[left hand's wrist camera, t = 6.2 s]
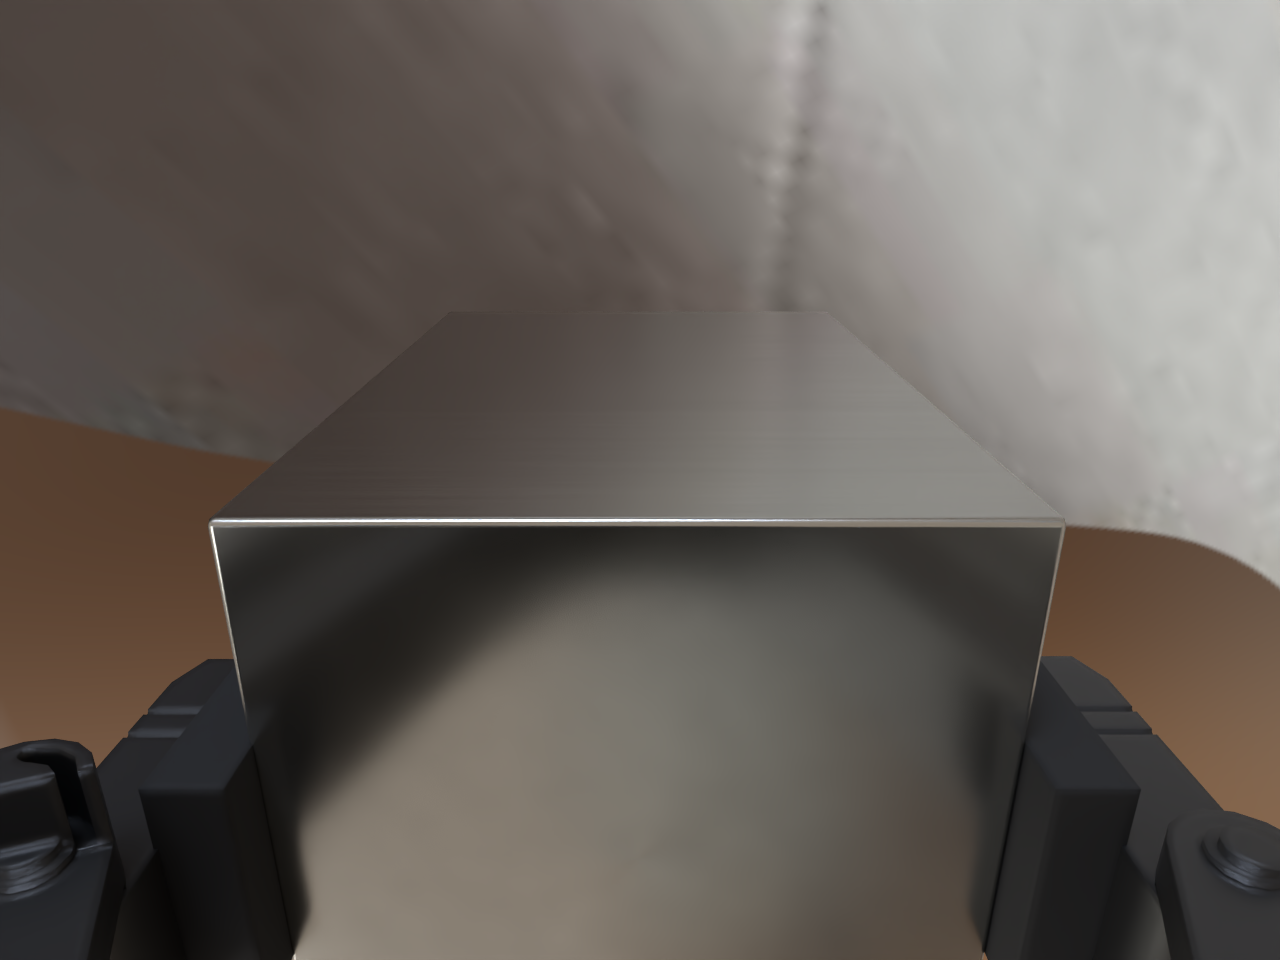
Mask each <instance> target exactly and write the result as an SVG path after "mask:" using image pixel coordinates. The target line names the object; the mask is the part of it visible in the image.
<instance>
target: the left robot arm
mask: <svg viewBox="0 0 1280 960" xmlns="http://www.w3.org/2000/svg"><path fill="white" fill-rule="evenodd" d="M984 952H985V954H986V956H987V959H988V960H1280V829H1278V828H1276V827H1274V826H1272V825H1270V824H1268V823H1266V822H1263V821H1260V820H1257V819H1254V818H1251V817H1248V816H1245V815H1242V814H1239V813H1236V812H1230V811H1224V810H1223V809H1222V808H1221V807H1220V806H1219V804H1218V803H1217V802H1216V801H1215V800H1214V799H1213V798H1212V797H1211V795H1210V794H1209V793H1208V792H1207V791H1206V790H1205V789H1204V787H1203V786H1202V785H1201V784H1200V783H1199V782H1198V781H1197V779H1196V778H1195V777H1194V776H1193V775H1192V774H1191V773H1190V772H1189V770H1188V769H1187V768H1186V767H1185V766H1184V765H1183V764H1182V762H1181V761H1180V760H1179V759H1178V758H1177V757H1176V756H1175V755H1174V753H1173V752H1172V751H1171V750H1170V749H1169V748H1168V747H1167V746H1166V744H1165V743H1164V742H1163V741H1162V740H1161V739H1160V738H1159V736H1158V735H1153V734H1152V729H1151V727H1150V726H1149V725H1148V724H1147V723H1146V722H1145V721H1144V719H1143V718H1142V717H1141V716H1140V715H1139V714H1138V713H1137V712H1133V711H1132V706H1131V705H1130V704H1129V702H1128V701H1127V700H1126V699H1125V698H1124V697H1123V696H1122V694H1121V693H1120V692H1119V691H1118V690H1117V689H1116V688H1115V687H1114V685H1113V684H1112V683H1111V682H1110V681H1109V680H1108V679H1107V678H1105V677H1104V676H1102V675H1100V674H1099V673H1097V672H1096V671H1094V670H1093V669H1091V668H1089V667H1088V666H1086V665H1085V664H1083V663H1082V662H1080V661H1078V660H1077V659H1075V658H1074V657H1072V656H1041V659H1040V664H1039V670H1038V675H1037V680H1036V685H1035V690H1034V696H1033V701H1032V706H1031V711H1030V716H1029V722H1028V727H1027V732H1026V737H1025V742H1024V748H1023V753H1022V758H1021V763H1020V768H1019V774H1018V779H1017V784H1016V789H1015V795H1014V800H1013V805H1012V810H1011V815H1010V821H1009V826H1008V831H1007V836H1006V841H1005V847H1004V852H1003V857H1002V862H1001V867H1000V873H999V878H998V883H997V888H996V893H995V899H994V904H993V909H992V914H991V919H990V925H989V930H988V935H987V940H986V945H985V951H984ZM292 957H293V952H292V947H291V942H290V937H289V932H288V927H287V921H286V916H285V911H284V906H283V901H282V896H281V890H280V885H279V880H278V875H277V870H276V865H275V860H274V854H273V849H272V844H271V839H270V834H269V829H268V823H267V818H266V813H265V808H264V803H263V798H262V793H261V787H260V782H259V777H258V772H257V767H256V762H255V756H254V751H253V746H252V745H251V744H250V740H249V734H248V729H247V724H246V719H245V714H244V709H243V704H242V699H241V693H240V688H239V683H238V678H237V673H236V668H235V663H234V659H208V660H206V661H204V662H203V663H201V664H200V665H198V666H197V667H195V668H194V669H192V670H190V671H189V672H187V673H186V674H184V675H183V676H181V677H179V678H178V679H176V680H175V681H173V682H172V683H171V684H170V685H169V686H168V687H167V688H166V690H165V691H164V692H163V693H162V694H161V695H160V696H159V698H158V699H157V700H156V701H155V702H154V703H153V704H152V705H151V707H150V708H149V709H148V714H147V715H143V716H142V717H141V718H140V719H139V720H138V721H137V723H136V724H135V725H134V726H133V727H132V728H131V729H130V731H129V732H128V737H127V738H123V739H122V740H121V741H120V742H119V743H118V744H117V745H116V747H115V748H114V749H113V750H112V751H111V752H110V753H109V755H108V756H107V757H106V758H105V759H104V760H103V761H102V763H101V764H100V765H99V766H98V767H97V768H96V766H95V762H94V759H93V755H92V752H90V751H89V750H88V749H86V748H85V747H84V746H82V745H81V744H80V743H78V742H72V741H66V740H60V739H48V740H38V741H28V742H22V743H19V744H15V745H12V746H9V747H5V748H2V749H0V960H292Z"/></svg>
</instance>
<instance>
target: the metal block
mask: <svg viewBox="0 0 1280 960" xmlns="http://www.w3.org/2000/svg"><path fill="white" fill-rule="evenodd" d="M208 529H209V534H210V539H211V545H212V550H213V555H214V560H215V565H216V570H217V575H218V581H219V586H220V591H221V596H222V601H223V606H224V611H225V616H226V621H227V627H228V632H229V637H230V642H231V647H232V652H233V657H234V663H235V668H236V673H237V678H238V683H239V688H240V693H241V699H242V704H243V709H244V714H245V719H246V724H247V729H248V734H249V740H250V744H251V745H252V746H253V751H254V756H255V762H256V767H257V772H258V777H259V782H260V787H261V793H262V798H263V803H264V808H265V813H266V818H267V823H268V829H269V834H270V839H271V844H272V849H273V854H274V860H275V865H276V870H277V875H278V880H279V885H280V890H281V896H282V901H283V906H284V911H285V916H286V921H287V927H288V932H289V937H290V942H291V947H292V952H293V957H292V960H983V956H984V951H985V945H986V940H987V935H988V930H989V925H990V919H991V914H992V909H993V904H994V899H995V893H996V888H997V883H998V878H999V873H1000V867H1001V862H1002V857H1003V852H1004V847H1005V841H1006V836H1007V831H1008V826H1009V821H1010V815H1011V810H1012V805H1013V800H1014V795H1015V789H1016V784H1017V779H1018V774H1019V768H1020V763H1021V758H1022V753H1023V748H1024V742H1025V737H1026V732H1027V727H1028V722H1029V716H1030V711H1031V706H1032V701H1033V696H1034V690H1035V685H1036V680H1037V675H1038V670H1039V664H1040V659H1041V654H1042V649H1043V643H1044V638H1045V633H1046V628H1047V622H1048V618H1049V612H1050V607H1051V602H1052V597H1053V591H1054V586H1055V581H1056V576H1057V571H1058V565H1059V560H1060V555H1061V550H1062V545H1063V539H1064V534H1065V529H1066V523H1065V520H1064V518H1063V517H1062V516H1061V515H1059V514H1058V513H1057V512H1056V511H1055V510H1054V509H1053V508H1051V507H1050V506H1049V505H1048V504H1047V503H1046V502H1045V501H1043V500H1042V499H1041V498H1040V497H1039V496H1038V495H1036V494H1035V493H1034V492H1033V491H1032V490H1031V489H1030V488H1028V487H1027V486H1026V485H1025V484H1024V483H1023V482H1022V481H1020V480H1019V479H1018V478H1017V477H1016V476H1015V475H1014V474H1012V473H1011V472H1010V471H1009V470H1008V469H1007V468H1006V467H1004V466H1003V465H1002V464H1001V463H1000V462H999V461H997V460H996V459H995V458H994V457H993V456H992V455H991V454H989V453H988V452H987V451H986V450H985V449H984V448H983V447H981V446H980V445H979V444H978V443H977V442H976V441H975V440H973V439H972V438H971V437H970V436H969V435H968V434H967V433H965V432H964V431H963V430H962V429H961V428H960V427H959V426H957V425H956V424H955V423H954V422H953V421H952V420H950V419H949V418H948V417H947V416H946V415H945V414H944V413H942V412H941V411H940V410H939V409H938V408H937V407H936V406H934V405H933V404H932V403H931V402H930V401H929V400H928V399H926V398H925V397H924V396H923V395H922V394H921V393H920V392H918V391H917V390H916V389H915V388H914V387H913V386H911V385H910V384H909V383H908V382H907V381H906V380H905V379H903V378H902V377H901V376H900V375H899V374H898V373H897V372H895V371H894V370H893V369H892V368H891V367H890V366H889V365H887V364H886V363H885V362H884V361H883V360H882V359H881V358H879V357H878V356H877V355H876V354H875V353H874V352H872V351H871V350H870V349H869V348H868V347H867V346H866V345H864V344H863V343H862V342H861V341H860V340H859V339H858V338H856V337H855V336H854V335H853V334H852V333H851V332H850V331H848V330H847V329H846V328H845V327H844V326H843V325H842V324H840V323H839V322H838V321H837V320H836V319H835V318H833V317H832V316H831V315H830V314H829V313H827V312H450V313H448V314H447V315H446V316H445V317H444V318H442V319H441V320H440V321H439V322H438V323H437V324H435V325H434V326H433V327H432V328H431V329H430V330H429V331H427V332H426V333H425V334H424V335H423V336H422V337H420V338H419V339H418V340H417V341H416V342H415V343H413V344H412V345H411V346H410V347H409V348H408V349H406V350H405V351H404V352H403V353H402V354H401V355H399V356H398V357H397V358H396V359H395V360H394V361H393V362H391V363H390V364H389V365H388V366H387V367H386V368H384V369H383V370H382V371H381V372H380V373H379V374H377V375H376V376H375V377H374V378H373V379H372V380H370V381H369V382H368V383H367V384H366V385H365V386H363V387H362V388H361V389H360V390H359V391H358V392H356V393H355V394H354V395H353V396H352V397H351V398H350V399H348V400H347V401H346V402H345V403H344V404H343V405H341V406H340V407H339V408H338V409H337V410H336V411H334V412H333V413H332V414H331V415H330V416H329V417H327V418H326V419H325V420H324V421H323V422H322V423H320V424H319V425H318V426H317V427H316V428H315V429H314V430H312V431H311V432H310V433H309V434H308V435H307V436H305V437H304V438H303V439H302V440H301V441H300V442H298V443H297V444H296V445H295V446H294V447H293V448H291V449H290V450H289V451H288V452H287V453H286V454H284V455H283V456H282V457H281V458H280V459H279V460H277V461H276V462H275V463H274V464H273V465H272V466H271V467H269V468H268V469H267V470H266V471H265V472H264V473H262V474H261V475H260V476H259V477H258V478H257V479H255V480H254V481H253V482H252V483H251V484H250V485H248V486H247V487H246V488H245V489H244V490H243V491H241V492H240V493H239V494H238V495H237V496H236V497H234V498H233V499H232V500H231V501H230V502H229V503H228V504H226V505H225V506H224V507H223V508H222V509H221V510H219V511H218V512H217V513H216V514H215V515H214V516H212V517H211V518H210V520H209V523H208Z"/></svg>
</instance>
